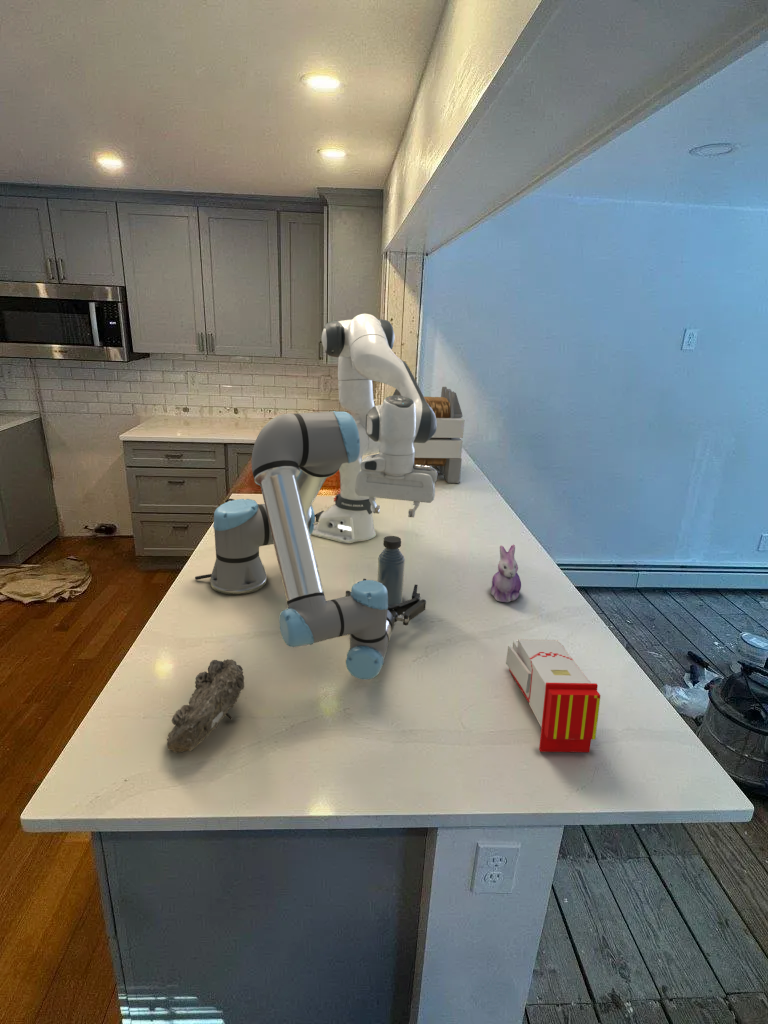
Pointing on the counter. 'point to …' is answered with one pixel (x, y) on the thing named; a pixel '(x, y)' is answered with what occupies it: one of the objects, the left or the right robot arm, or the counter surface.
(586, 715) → the toy
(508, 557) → the figurine
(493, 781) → the counter surface
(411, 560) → the counter surface
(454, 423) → the transformer
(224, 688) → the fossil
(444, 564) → the counter surface
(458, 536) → the counter surface
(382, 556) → the bottle
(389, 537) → the cap
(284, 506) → the left robot arm
